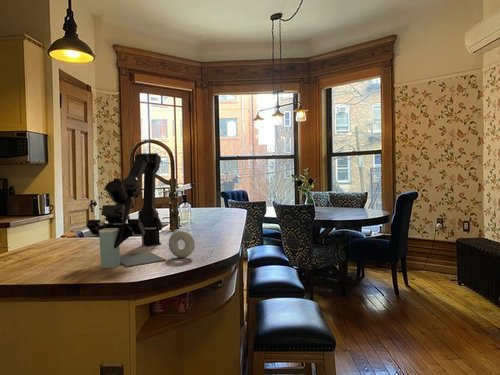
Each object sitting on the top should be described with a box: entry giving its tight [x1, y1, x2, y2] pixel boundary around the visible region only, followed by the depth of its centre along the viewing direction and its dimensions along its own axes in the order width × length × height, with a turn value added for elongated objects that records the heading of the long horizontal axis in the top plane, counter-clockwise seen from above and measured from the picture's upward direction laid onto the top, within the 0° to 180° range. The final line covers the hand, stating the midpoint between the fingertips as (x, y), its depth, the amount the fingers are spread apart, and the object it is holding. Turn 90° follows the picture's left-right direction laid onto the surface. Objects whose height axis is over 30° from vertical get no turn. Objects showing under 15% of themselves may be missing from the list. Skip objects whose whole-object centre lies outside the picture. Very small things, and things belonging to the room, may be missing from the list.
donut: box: [168, 229, 196, 259], centre depth 133 cm, size 10×4×10 cm, turn 74°
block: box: [98, 228, 121, 269], centre depth 124 cm, size 4×4×12 cm
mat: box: [120, 250, 167, 268], centre depth 133 cm, size 14×18×1 cm
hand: (107, 247), depth 122 cm, fingers closed on block, 4 cm apart
